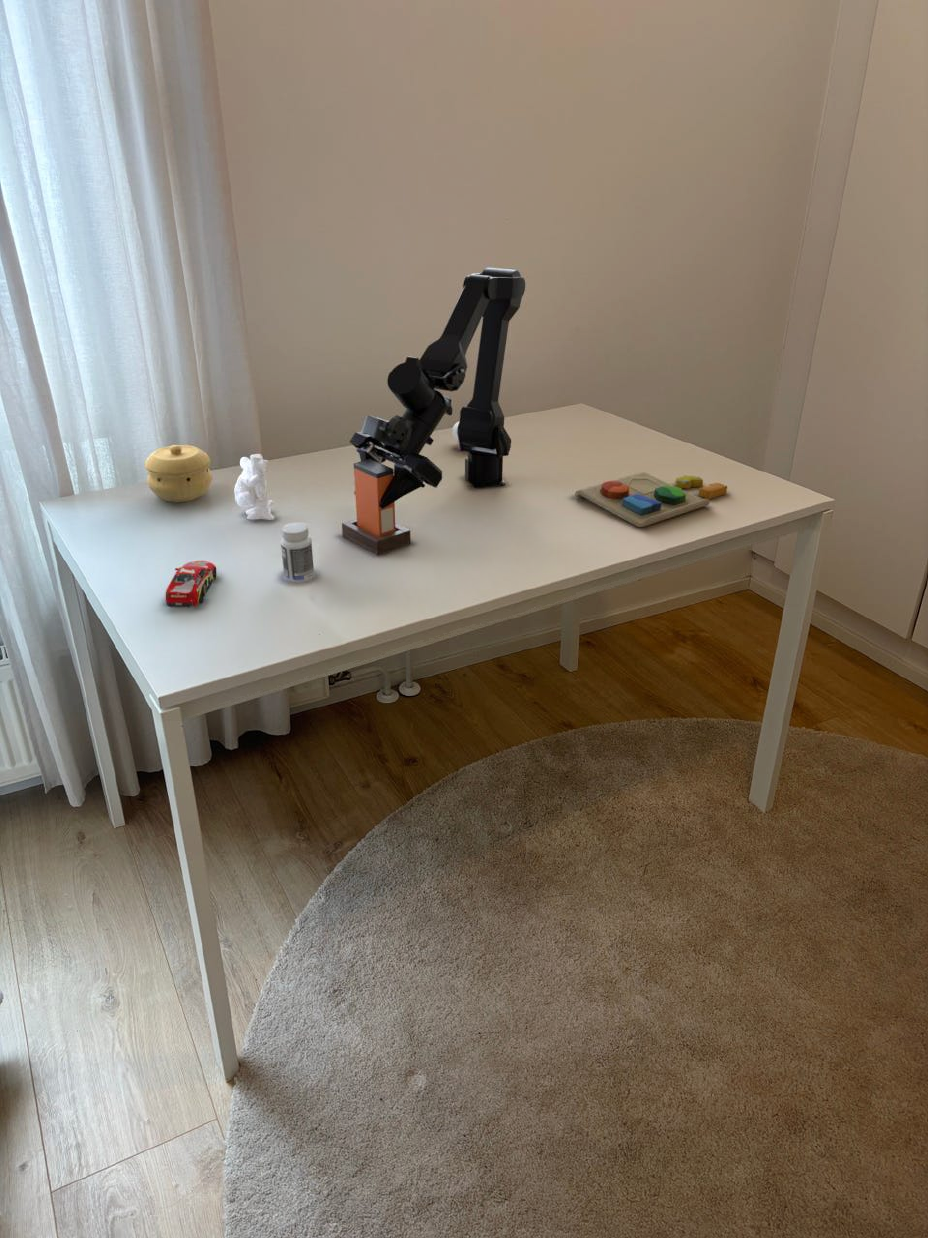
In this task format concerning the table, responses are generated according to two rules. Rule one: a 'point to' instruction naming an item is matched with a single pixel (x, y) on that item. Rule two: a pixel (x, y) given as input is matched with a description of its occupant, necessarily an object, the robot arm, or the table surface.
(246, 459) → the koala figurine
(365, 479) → the box
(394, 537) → the slot
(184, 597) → the race car
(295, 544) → the pill bottle
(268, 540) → the table surface
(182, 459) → the pot
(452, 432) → the stress ball
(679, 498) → the shape puzzle
